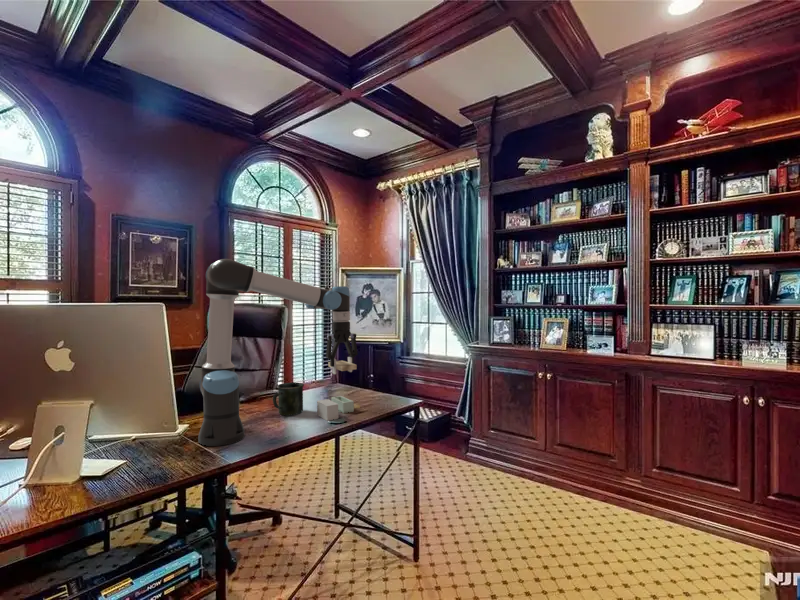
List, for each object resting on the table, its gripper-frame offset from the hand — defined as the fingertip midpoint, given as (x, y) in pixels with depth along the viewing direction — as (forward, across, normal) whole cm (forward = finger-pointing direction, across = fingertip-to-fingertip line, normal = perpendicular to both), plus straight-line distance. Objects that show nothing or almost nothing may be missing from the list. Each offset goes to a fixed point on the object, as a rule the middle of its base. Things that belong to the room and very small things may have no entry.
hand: (342, 372), depth 184 cm
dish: (+16, 0, 0) cm, 16 cm away
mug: (+17, -22, +8) cm, 29 cm away
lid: (-2, 0, 0) cm, 2 cm away
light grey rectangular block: (+16, -10, -6) cm, 20 cm away
